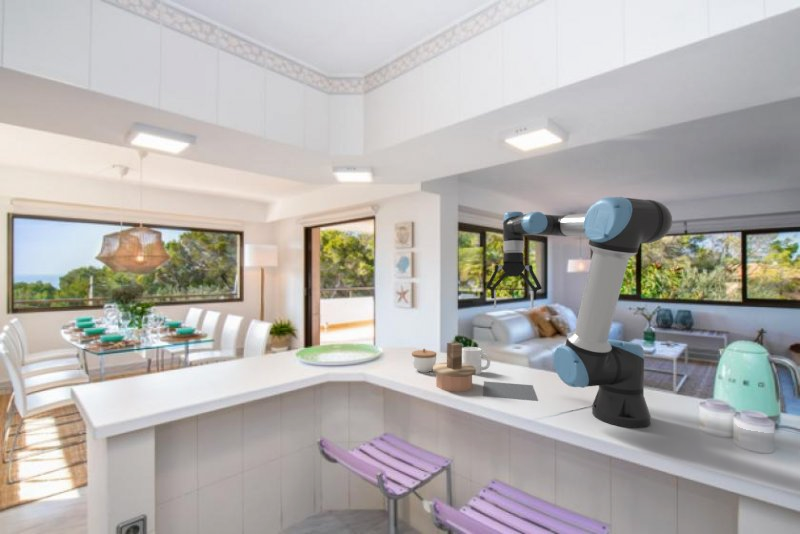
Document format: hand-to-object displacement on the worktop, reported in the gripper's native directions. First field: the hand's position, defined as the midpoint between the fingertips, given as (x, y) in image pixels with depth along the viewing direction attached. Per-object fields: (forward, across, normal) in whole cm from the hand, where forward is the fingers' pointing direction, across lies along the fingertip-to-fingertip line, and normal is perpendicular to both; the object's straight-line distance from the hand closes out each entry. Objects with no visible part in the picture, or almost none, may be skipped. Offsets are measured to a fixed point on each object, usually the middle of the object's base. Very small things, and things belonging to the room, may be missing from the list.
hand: (513, 307), depth 144 cm
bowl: (+30, +22, +8) cm, 38 cm away
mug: (+29, +15, -14) cm, 36 cm away
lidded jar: (+29, +37, -12) cm, 49 cm away
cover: (+24, +22, +8) cm, 33 cm away
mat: (+30, +2, +8) cm, 31 cm away
